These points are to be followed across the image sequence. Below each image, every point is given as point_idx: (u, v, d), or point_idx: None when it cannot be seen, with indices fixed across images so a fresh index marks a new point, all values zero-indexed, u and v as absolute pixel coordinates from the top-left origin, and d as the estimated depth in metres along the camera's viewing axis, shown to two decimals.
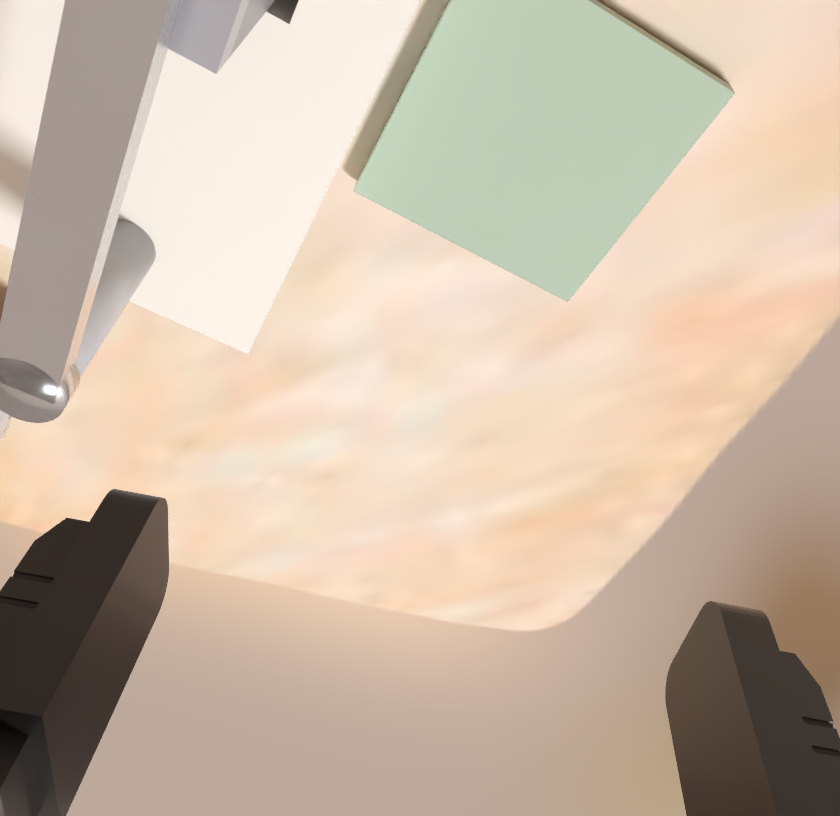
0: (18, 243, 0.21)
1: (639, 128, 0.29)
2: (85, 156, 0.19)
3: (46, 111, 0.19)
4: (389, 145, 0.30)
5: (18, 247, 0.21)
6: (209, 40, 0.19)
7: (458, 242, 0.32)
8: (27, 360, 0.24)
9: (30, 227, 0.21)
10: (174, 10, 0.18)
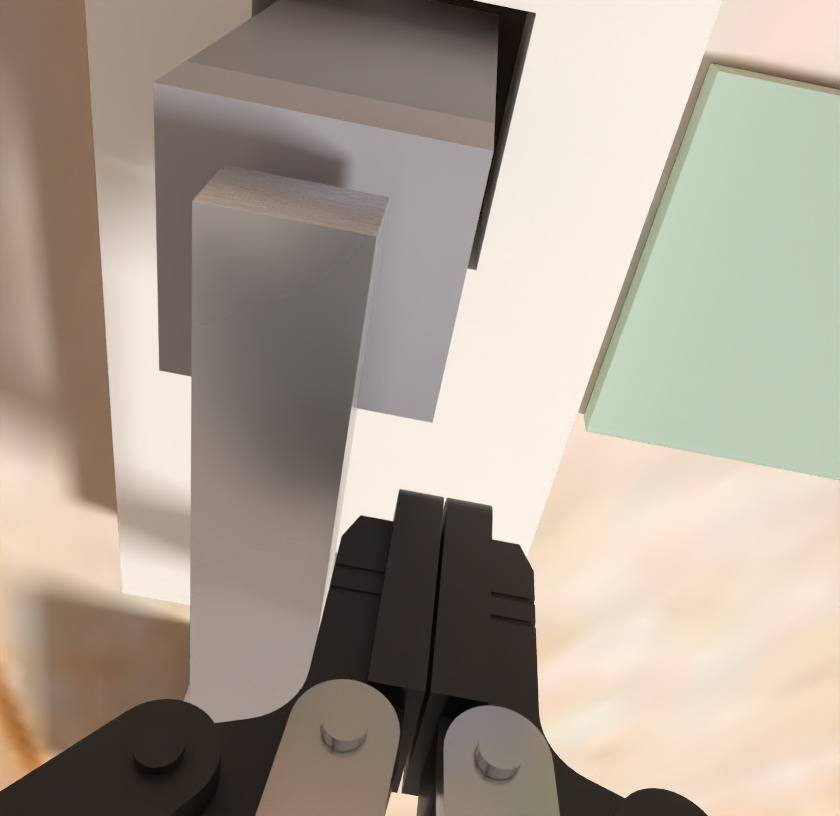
0: None
1: None
2: (264, 604, 0.12)
3: (196, 561, 0.12)
4: (625, 366, 0.22)
5: None
6: (414, 381, 0.12)
7: (743, 458, 0.23)
8: None
9: (204, 701, 0.14)
10: (360, 371, 0.10)
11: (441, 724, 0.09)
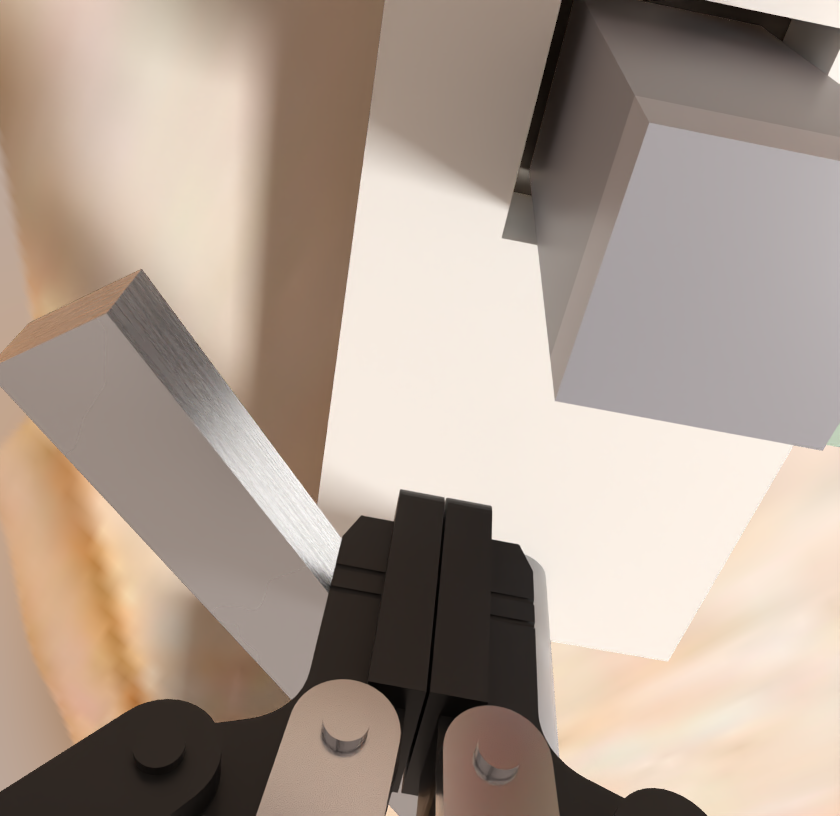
0: None
1: None
2: (310, 642, 0.13)
3: (234, 632, 0.13)
4: None
5: None
6: (818, 411, 0.12)
7: None
8: None
9: None
10: (226, 414, 0.11)
11: (440, 723, 0.09)
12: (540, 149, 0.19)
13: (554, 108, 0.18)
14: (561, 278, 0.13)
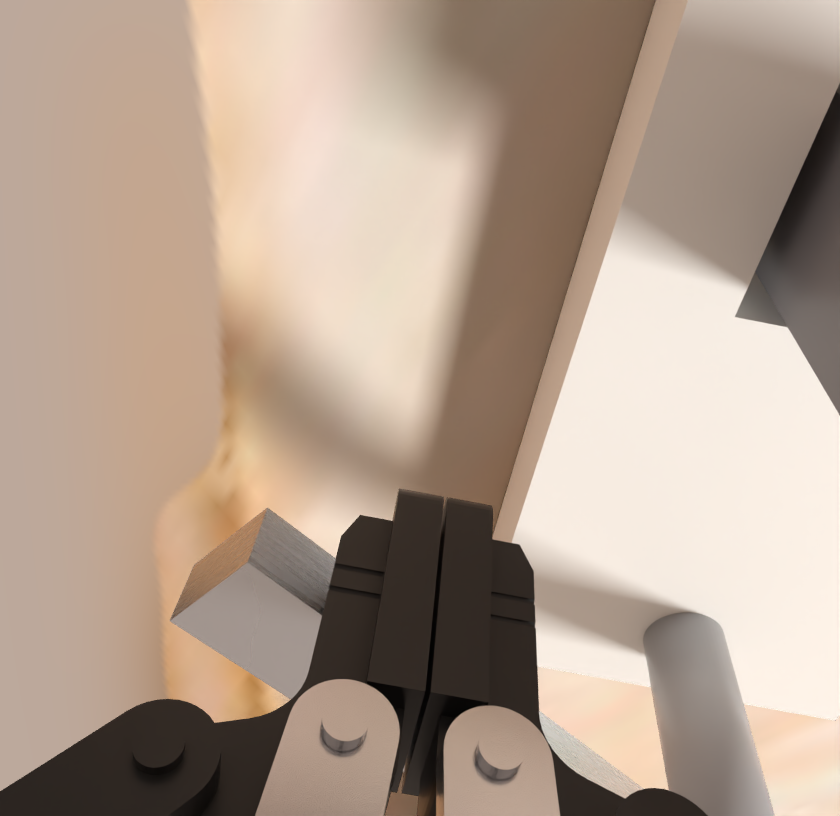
0: None
1: None
2: None
3: None
4: None
5: None
6: None
7: None
8: None
9: None
10: None
11: (441, 724, 0.09)
12: None
13: None
14: None
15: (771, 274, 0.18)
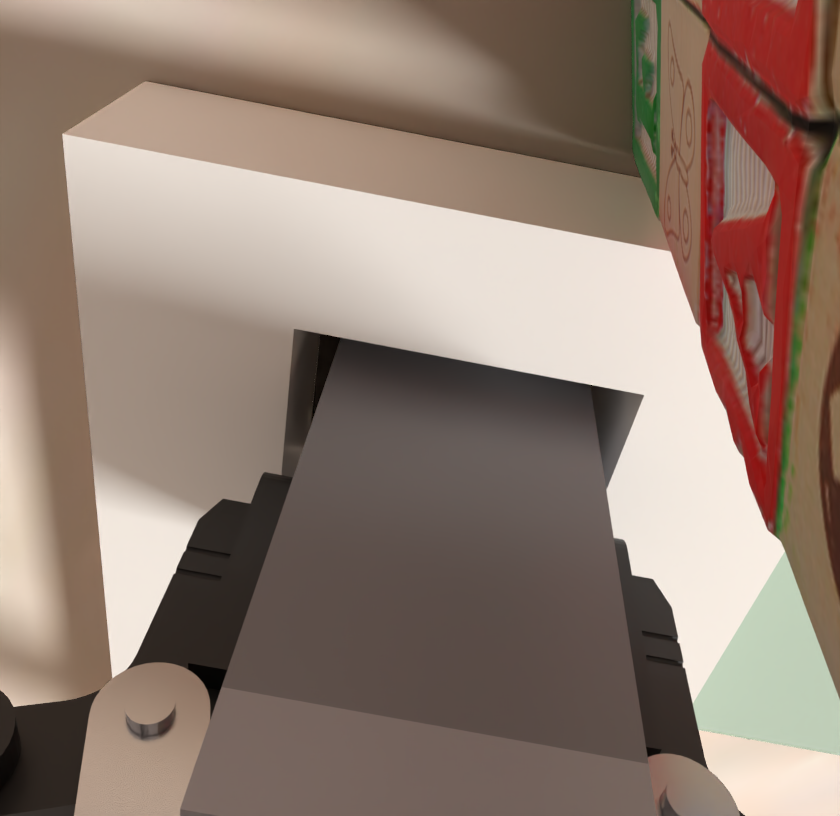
0: None
1: None
2: None
3: None
4: None
5: None
6: None
7: None
8: None
9: None
10: None
11: None
12: None
13: None
14: None
15: None
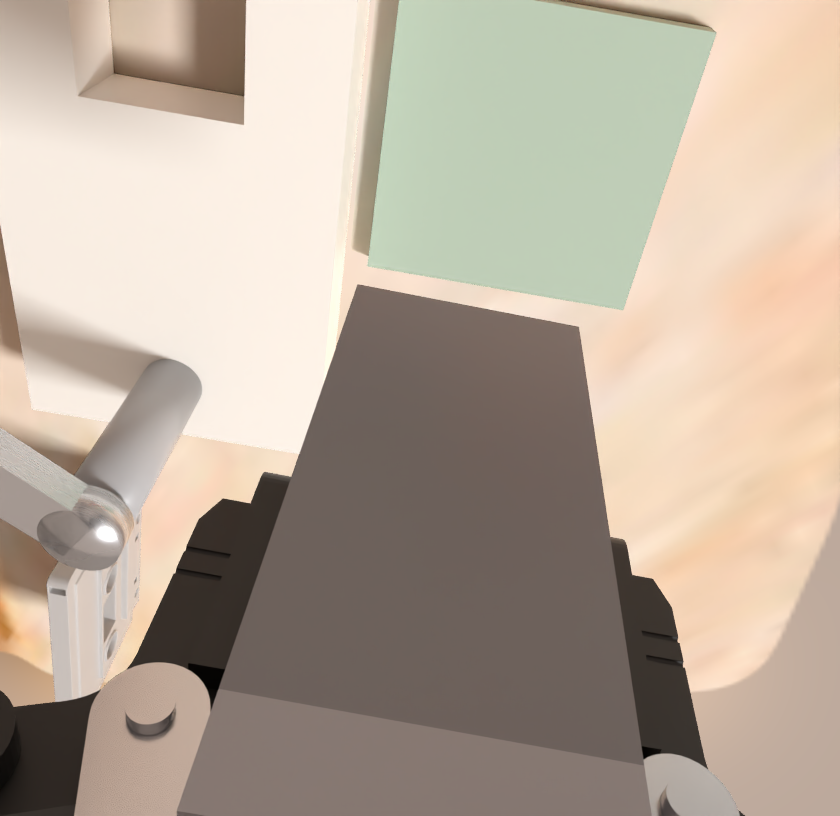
0: None
1: (627, 105, 0.27)
2: None
3: None
4: (385, 210, 0.29)
5: None
6: None
7: (487, 284, 0.31)
8: (38, 517, 0.25)
9: None
10: None
11: None
12: None
13: None
14: None
15: None
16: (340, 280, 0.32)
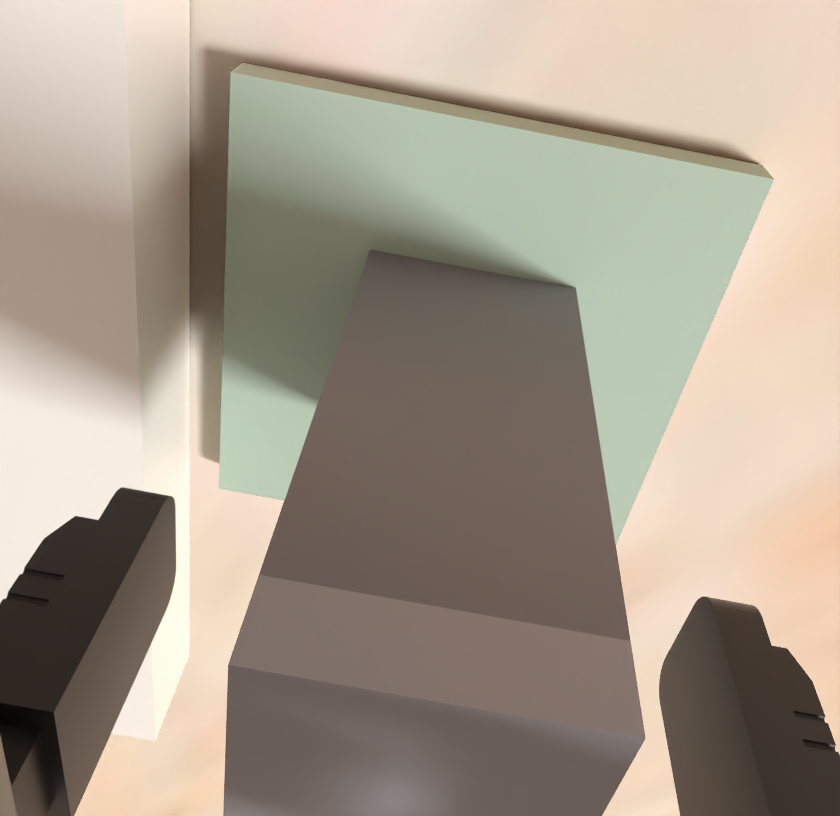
0: None
1: (619, 284, 0.16)
2: None
3: None
4: (238, 416, 0.19)
5: None
6: None
7: None
8: None
9: None
10: None
11: None
12: None
13: None
14: None
15: None
16: (181, 502, 0.21)
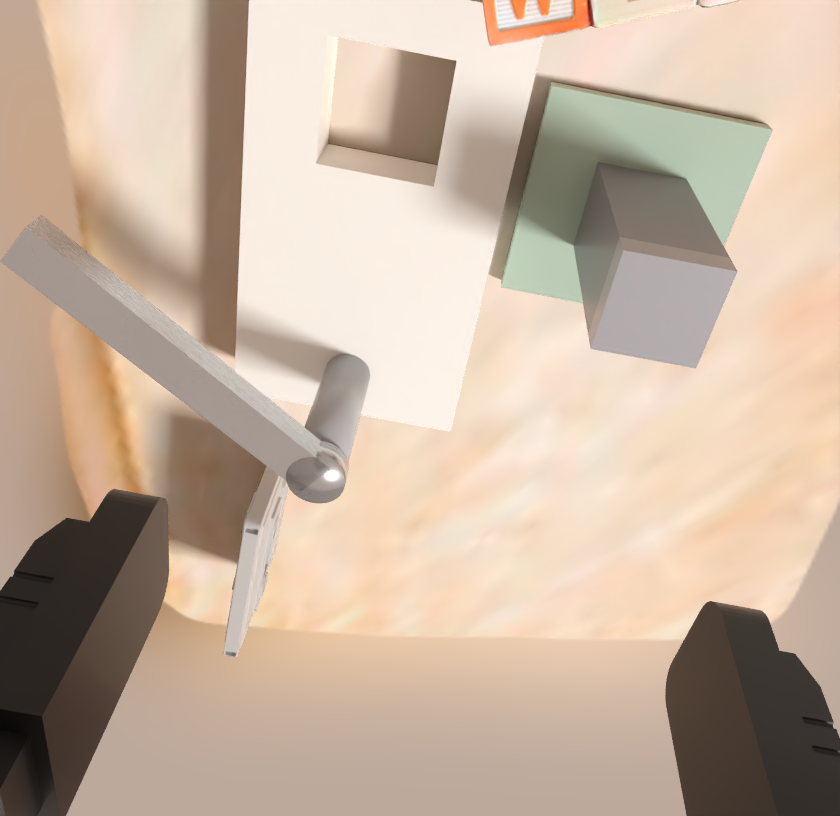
0: (203, 416, 0.34)
1: (705, 177, 0.37)
2: (151, 349, 0.32)
3: (123, 354, 0.32)
4: (520, 246, 0.40)
5: (206, 418, 0.34)
6: (692, 351, 0.31)
7: None
8: (290, 462, 0.35)
9: (194, 404, 0.33)
10: (85, 259, 0.31)
11: None
12: (580, 237, 0.38)
13: (587, 219, 0.37)
14: (592, 301, 0.33)
15: (579, 260, 0.37)
16: None
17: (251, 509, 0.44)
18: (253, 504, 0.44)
